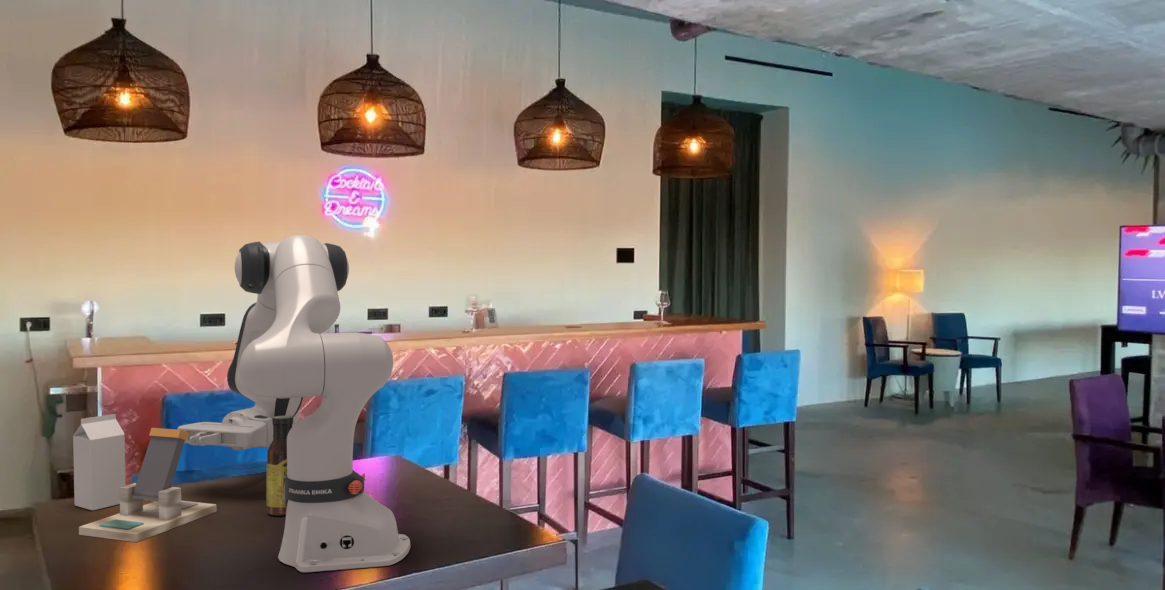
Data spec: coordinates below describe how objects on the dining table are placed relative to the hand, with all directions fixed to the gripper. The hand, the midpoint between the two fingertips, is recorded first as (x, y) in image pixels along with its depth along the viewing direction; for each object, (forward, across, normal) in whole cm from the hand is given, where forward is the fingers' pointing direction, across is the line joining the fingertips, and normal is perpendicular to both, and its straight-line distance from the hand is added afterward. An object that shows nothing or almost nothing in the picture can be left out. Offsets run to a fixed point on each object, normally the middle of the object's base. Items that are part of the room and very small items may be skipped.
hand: (194, 441), depth 172 cm
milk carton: (+5, -21, +14) cm, 25 cm away
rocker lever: (+12, 0, +8) cm, 14 cm away
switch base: (+12, 0, +14) cm, 18 cm away
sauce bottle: (-2, +20, +14) cm, 25 cm away
